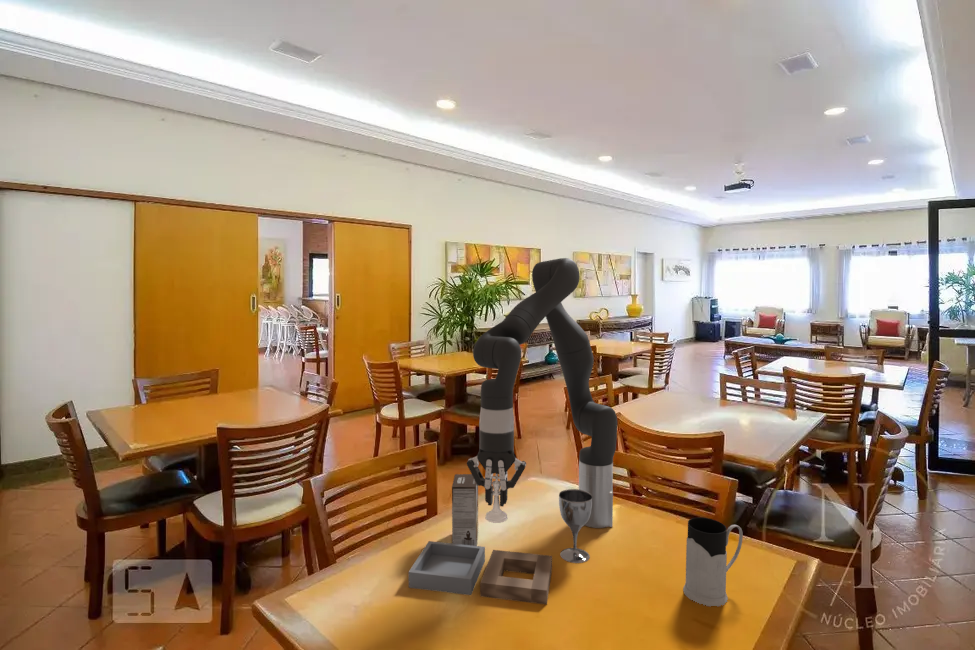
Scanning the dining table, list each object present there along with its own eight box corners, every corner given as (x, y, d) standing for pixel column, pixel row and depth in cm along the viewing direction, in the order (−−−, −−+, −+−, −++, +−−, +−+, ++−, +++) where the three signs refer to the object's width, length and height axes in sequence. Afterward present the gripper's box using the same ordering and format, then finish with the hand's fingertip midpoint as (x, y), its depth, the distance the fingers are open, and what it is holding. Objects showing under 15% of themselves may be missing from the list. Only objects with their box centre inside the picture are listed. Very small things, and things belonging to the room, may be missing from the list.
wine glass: (553, 558, 121) (554, 498, 120) (564, 544, 128) (565, 486, 127) (585, 567, 117) (586, 504, 117) (595, 551, 125) (596, 492, 124)
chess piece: (505, 523, 108) (506, 478, 108) (483, 521, 109) (483, 476, 109) (509, 514, 113) (509, 470, 113) (487, 512, 114) (487, 469, 114)
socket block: (552, 568, 117) (552, 555, 117) (546, 604, 103) (546, 590, 103) (493, 561, 120) (493, 549, 120) (480, 596, 106) (480, 582, 106)
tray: (484, 561, 120) (484, 546, 120) (471, 595, 107) (471, 579, 106) (429, 554, 123) (428, 541, 123) (408, 587, 109) (408, 571, 109)
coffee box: (454, 531, 135) (454, 473, 134) (478, 532, 135) (478, 473, 134) (451, 549, 126) (451, 486, 125) (477, 549, 126) (477, 486, 125)
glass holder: (674, 586, 110) (675, 519, 109) (724, 574, 115) (726, 509, 114) (704, 610, 101) (706, 538, 100) (757, 595, 106) (759, 526, 105)
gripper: (529, 424, 113) (529, 500, 113) (469, 421, 115) (469, 495, 116) (526, 433, 105) (525, 514, 106) (461, 430, 108) (461, 509, 109)
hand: (496, 504), depth 111 cm, fingers closed on chess piece
